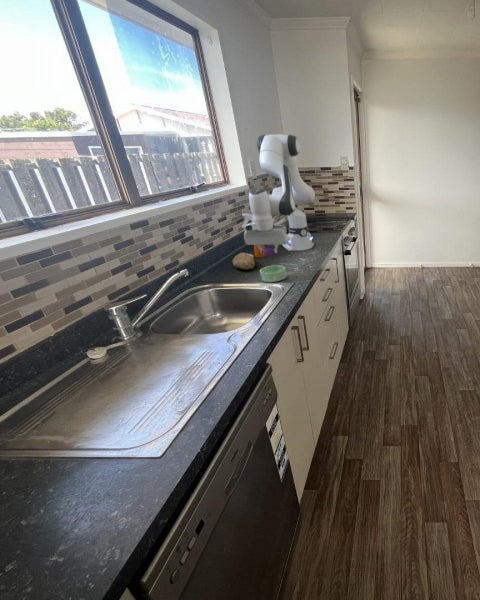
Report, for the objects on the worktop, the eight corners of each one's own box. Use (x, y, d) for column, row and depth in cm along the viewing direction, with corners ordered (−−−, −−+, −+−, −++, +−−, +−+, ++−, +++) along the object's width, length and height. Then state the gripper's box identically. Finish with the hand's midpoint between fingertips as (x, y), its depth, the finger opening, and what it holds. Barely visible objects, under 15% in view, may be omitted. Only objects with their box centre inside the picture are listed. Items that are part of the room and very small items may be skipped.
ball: (262, 256, 163) (260, 246, 160) (272, 254, 166) (270, 244, 164) (267, 258, 159) (265, 248, 157) (277, 256, 162) (275, 246, 160)
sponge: (237, 264, 192) (225, 269, 173) (237, 251, 190) (226, 254, 171) (260, 267, 195) (252, 271, 176) (261, 253, 193) (253, 257, 174)
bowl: (257, 278, 168) (255, 269, 166) (279, 272, 175) (278, 263, 173) (268, 285, 160) (266, 275, 158) (291, 278, 168) (289, 269, 165)
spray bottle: (247, 256, 202) (238, 213, 191) (265, 253, 207) (257, 211, 196) (250, 259, 196) (240, 215, 185) (268, 256, 202) (260, 212, 190)
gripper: (287, 223, 159) (292, 251, 165) (245, 224, 159) (251, 251, 165) (283, 226, 153) (288, 254, 159) (240, 226, 153) (246, 255, 159)
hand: (269, 253), depth 162 cm, fingers closed on ball, 5 cm apart
